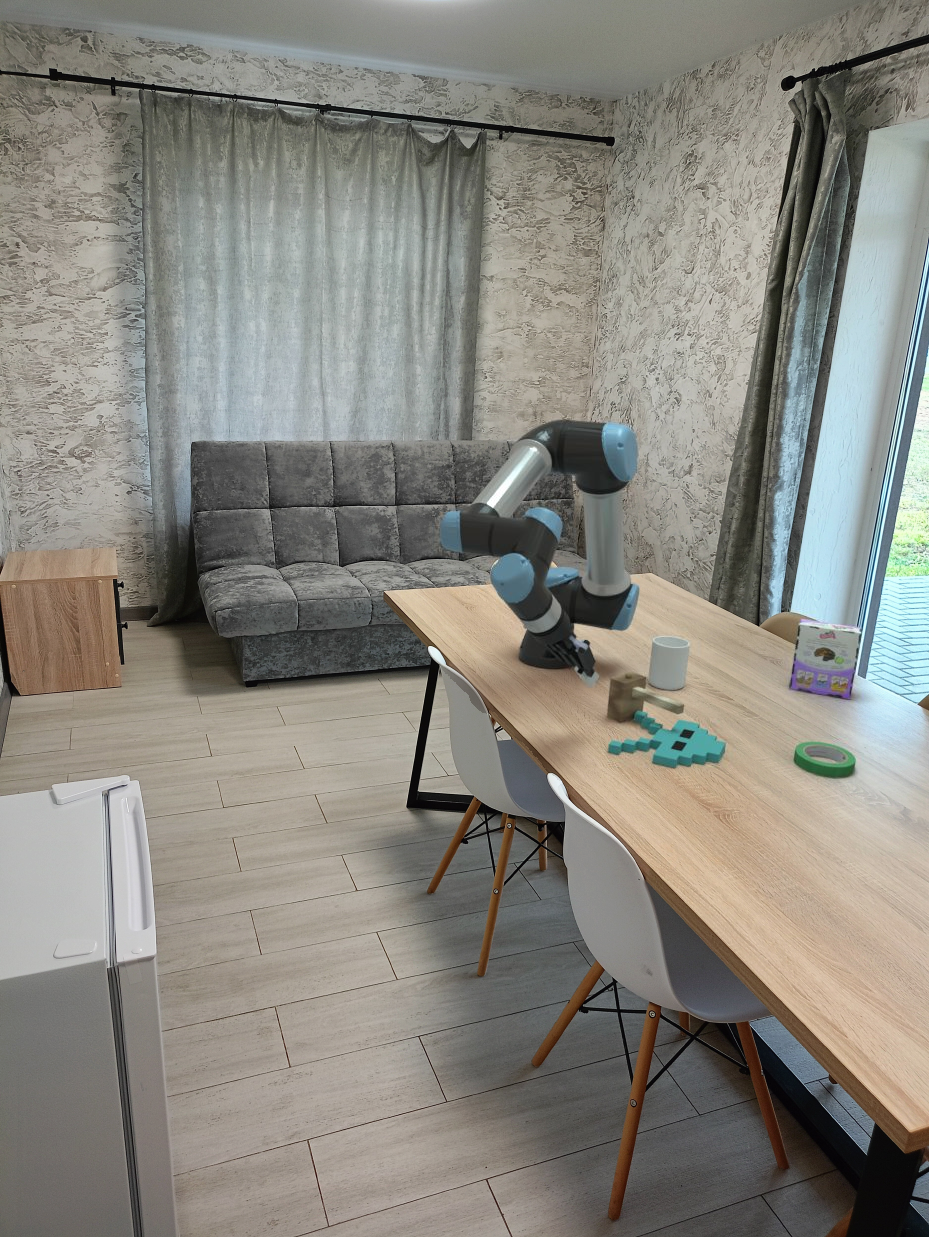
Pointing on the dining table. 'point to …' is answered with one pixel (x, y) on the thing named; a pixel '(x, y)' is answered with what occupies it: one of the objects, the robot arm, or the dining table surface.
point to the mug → (668, 662)
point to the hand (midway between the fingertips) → (592, 680)
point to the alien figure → (673, 743)
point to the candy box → (825, 658)
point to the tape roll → (824, 768)
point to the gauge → (634, 698)
